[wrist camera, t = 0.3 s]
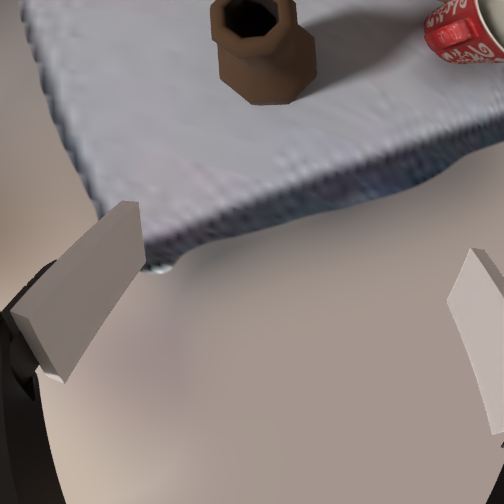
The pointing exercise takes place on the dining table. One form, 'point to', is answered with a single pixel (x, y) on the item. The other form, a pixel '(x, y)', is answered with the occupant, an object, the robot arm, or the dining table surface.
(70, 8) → the dining table surface
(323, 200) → the dining table surface
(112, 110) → the dining table surface
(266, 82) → the beer bottle
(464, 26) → the mug
